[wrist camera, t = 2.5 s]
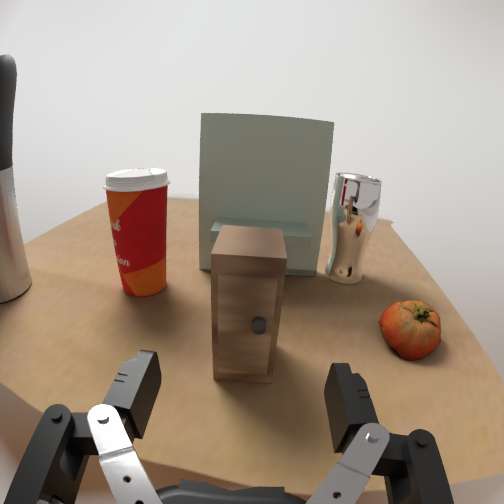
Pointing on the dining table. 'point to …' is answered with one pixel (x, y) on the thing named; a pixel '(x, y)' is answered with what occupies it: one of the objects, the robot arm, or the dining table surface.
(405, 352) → the tomato
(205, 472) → the dining table surface
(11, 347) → the dining table surface
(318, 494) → the robot arm
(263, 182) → the wall board
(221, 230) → the cabinet
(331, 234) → the beer glass
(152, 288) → the coffee cup
